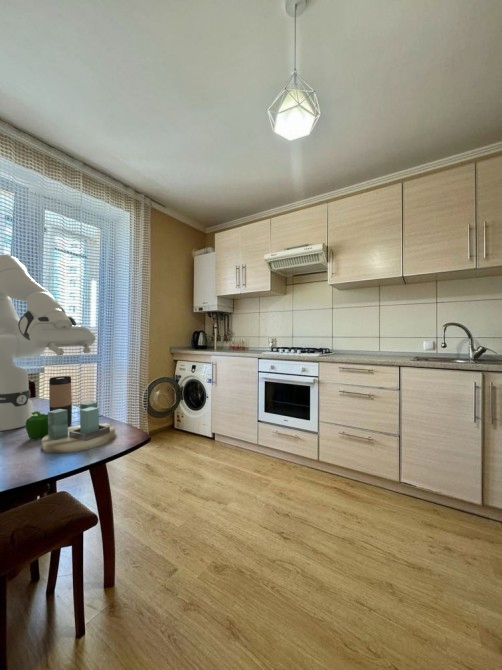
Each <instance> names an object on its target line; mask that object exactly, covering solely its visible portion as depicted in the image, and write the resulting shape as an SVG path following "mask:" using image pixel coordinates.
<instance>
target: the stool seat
mask: <svg viewBox="0 0 502 670" xmlns="http://www.w3.org/2000/svg"><path fill="white" fill-rule="evenodd" d="M79 406H80V407H79V411H80V410H82V409H86V408H89V407H94V408H98V402H96V401H87V402H83V403H80V404H79ZM47 415H48V435H46V436H45V437H43V438H41V450H42V451H43V452H45V453H49V454H68V453H69V454H70V453H77V452H81V451H86V450H87V451H88V450H89V449H93V448H96V447H97V448H98V447H99V446H100V447H101V446H102V445H104V444H106V443H109V442H110V441H112V440H113V439H114V438H115V437H116V427H115V425H113V424H112V423H111V424H110V423H105V422H99V430H97V431H94V432H92V433H89V434H84V433H80V424H77V425H72V426H71V425H70V426H68V414H67V410H64V409H58V410H53V411H50V410H49V411H47Z"/></svg>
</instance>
